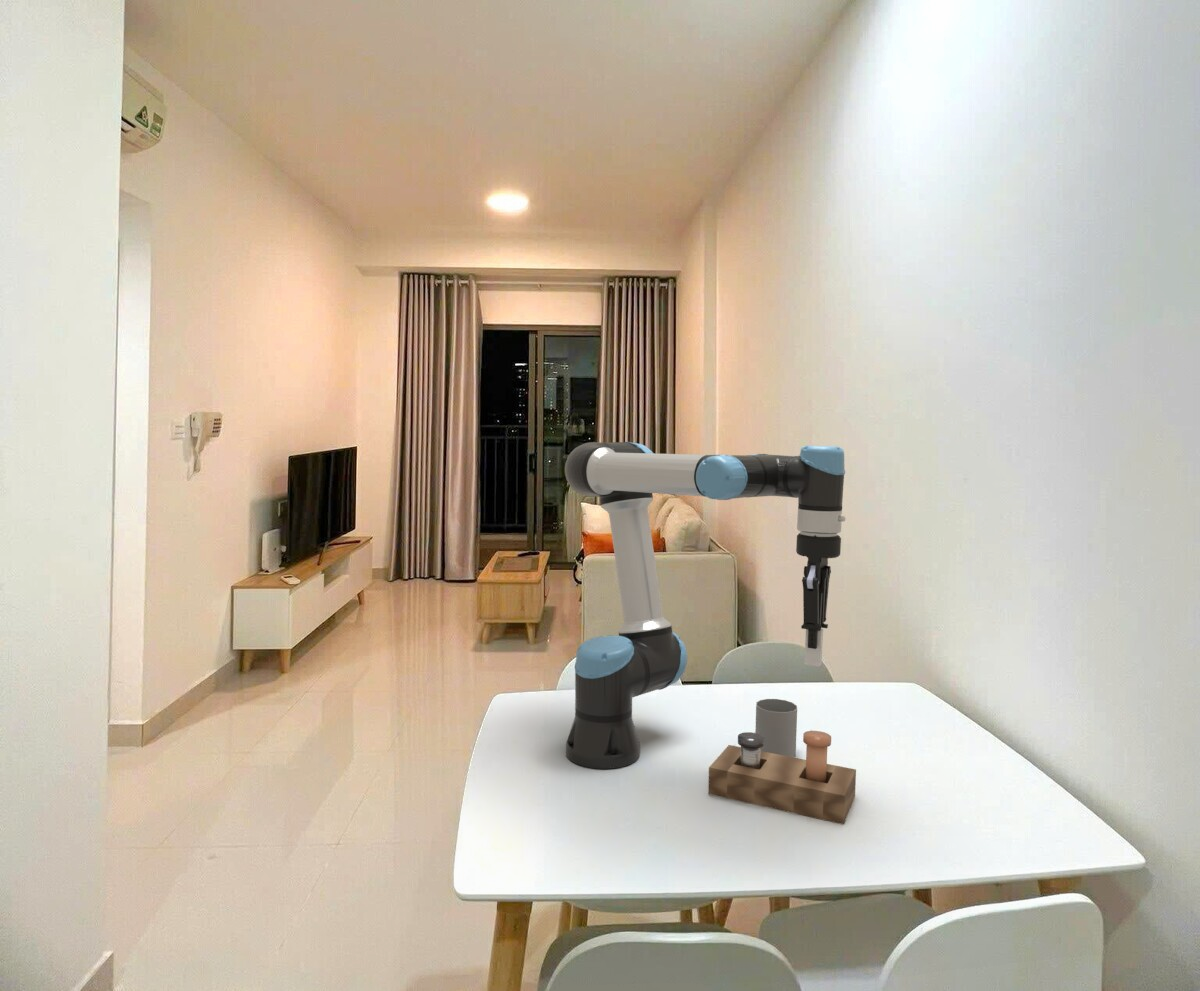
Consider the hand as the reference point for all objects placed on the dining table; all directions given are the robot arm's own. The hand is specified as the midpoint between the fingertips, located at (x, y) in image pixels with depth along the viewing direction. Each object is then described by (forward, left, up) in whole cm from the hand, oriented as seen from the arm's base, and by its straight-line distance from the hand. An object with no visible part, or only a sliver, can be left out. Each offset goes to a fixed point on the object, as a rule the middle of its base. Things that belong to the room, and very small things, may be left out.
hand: (812, 664), depth 140 cm
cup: (-11, +18, -25) cm, 33 cm away
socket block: (-5, -1, -25) cm, 25 cm away
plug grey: (-11, -1, -24) cm, 26 cm away
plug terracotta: (+1, -1, -21) cm, 21 cm away
